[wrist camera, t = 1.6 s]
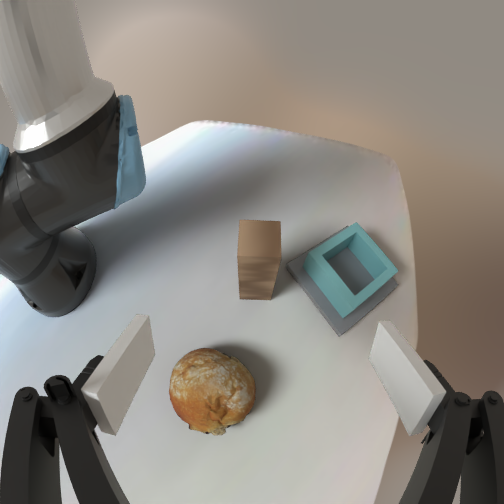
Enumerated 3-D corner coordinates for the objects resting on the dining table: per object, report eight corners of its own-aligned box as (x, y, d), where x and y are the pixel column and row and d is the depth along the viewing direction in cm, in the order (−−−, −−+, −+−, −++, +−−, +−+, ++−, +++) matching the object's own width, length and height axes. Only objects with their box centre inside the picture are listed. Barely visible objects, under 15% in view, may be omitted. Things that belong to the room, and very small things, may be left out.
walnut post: (239, 299, 36) (237, 255, 25) (241, 271, 38) (239, 219, 27) (270, 300, 36) (281, 257, 25) (270, 272, 38) (280, 221, 27)
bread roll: (259, 381, 34) (272, 351, 29) (237, 449, 26) (246, 434, 21) (190, 358, 35) (189, 323, 30) (158, 419, 27) (147, 396, 22)
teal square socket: (285, 267, 38) (291, 249, 34) (345, 228, 41) (356, 209, 37) (338, 336, 33) (352, 327, 29) (395, 287, 37) (411, 273, 32)
